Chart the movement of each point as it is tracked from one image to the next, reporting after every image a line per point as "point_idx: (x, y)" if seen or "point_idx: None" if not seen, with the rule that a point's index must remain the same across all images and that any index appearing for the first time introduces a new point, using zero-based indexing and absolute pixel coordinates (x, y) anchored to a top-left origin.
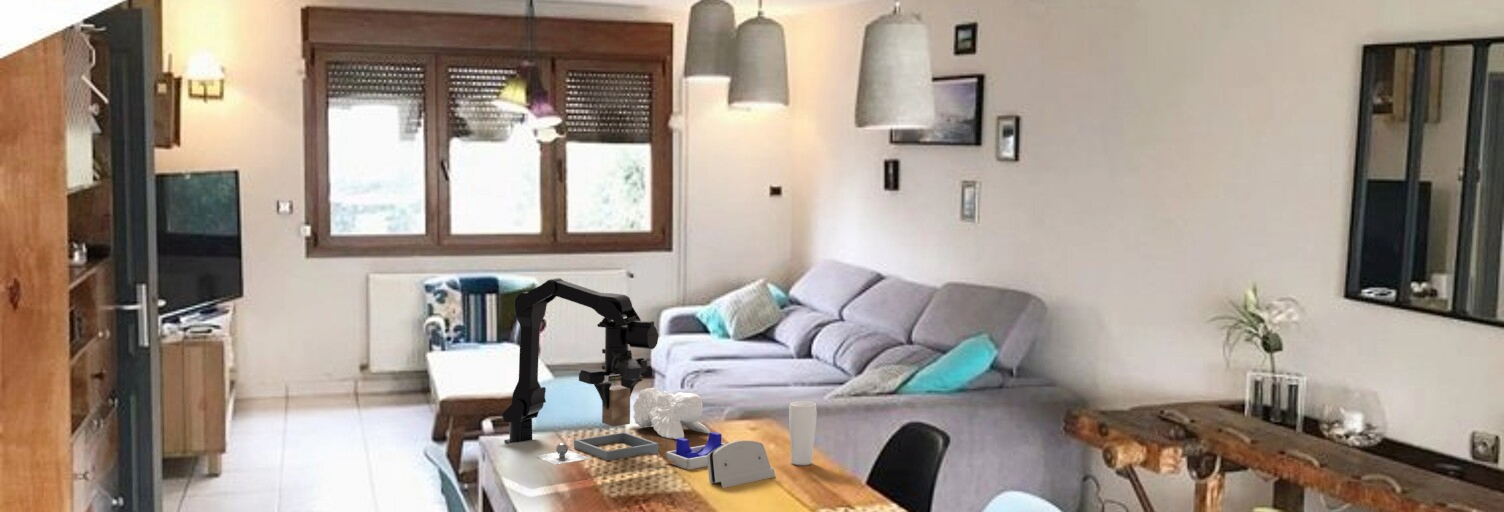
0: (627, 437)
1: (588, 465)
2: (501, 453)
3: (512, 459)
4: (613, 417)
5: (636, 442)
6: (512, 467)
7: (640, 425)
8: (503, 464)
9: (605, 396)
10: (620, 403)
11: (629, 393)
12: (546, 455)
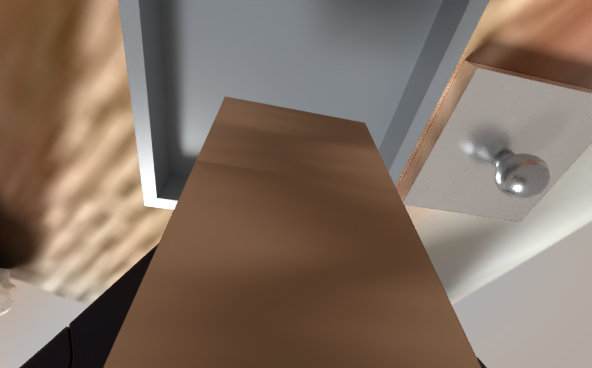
0: (159, 167)
1: (478, 56)
2: (456, 294)
3: (500, 254)
4: (377, 154)
5: (157, 101)
6: (589, 206)
7: (4, 276)
8: (560, 237)
9: (484, 365)
10: (321, 223)
11: (147, 314)
12: (498, 204)
